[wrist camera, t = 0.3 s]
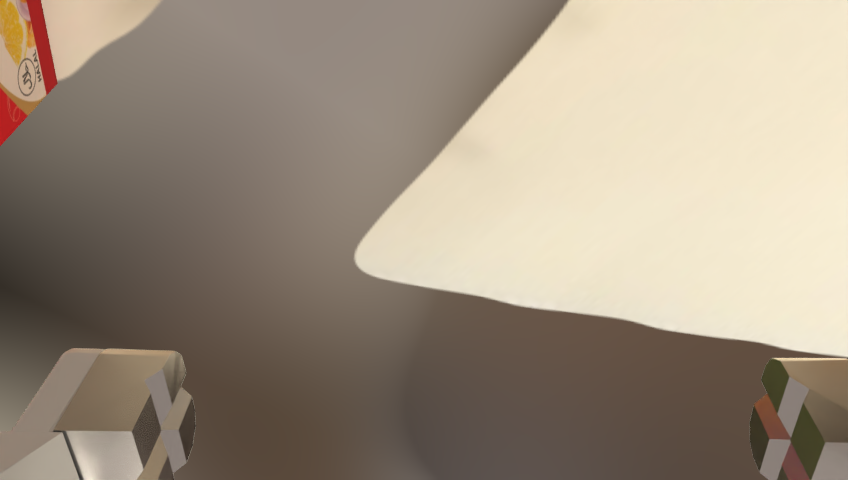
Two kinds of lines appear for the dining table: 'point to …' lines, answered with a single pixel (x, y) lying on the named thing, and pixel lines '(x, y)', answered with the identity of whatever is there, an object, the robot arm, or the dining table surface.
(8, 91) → the pasta box
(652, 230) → the dining table surface
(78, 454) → the robot arm
